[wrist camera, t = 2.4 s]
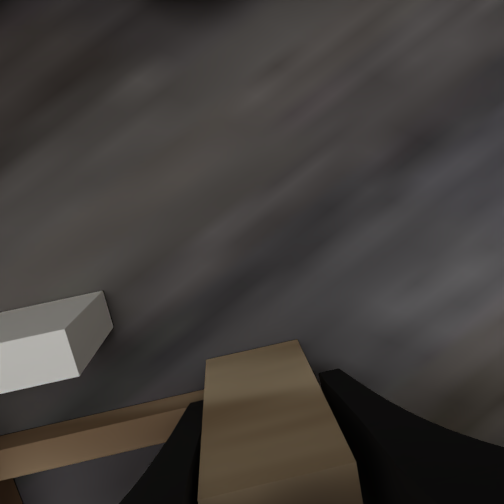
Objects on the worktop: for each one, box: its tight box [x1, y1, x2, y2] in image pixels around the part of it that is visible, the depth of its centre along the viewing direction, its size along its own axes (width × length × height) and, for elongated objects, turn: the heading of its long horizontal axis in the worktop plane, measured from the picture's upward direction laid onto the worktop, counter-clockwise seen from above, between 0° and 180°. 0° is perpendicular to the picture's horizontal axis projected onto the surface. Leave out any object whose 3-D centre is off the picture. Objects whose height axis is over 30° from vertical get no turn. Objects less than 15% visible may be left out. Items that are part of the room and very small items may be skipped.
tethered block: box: [0, 339, 363, 504], centre depth 10 cm, size 5×15×6 cm, turn 101°
